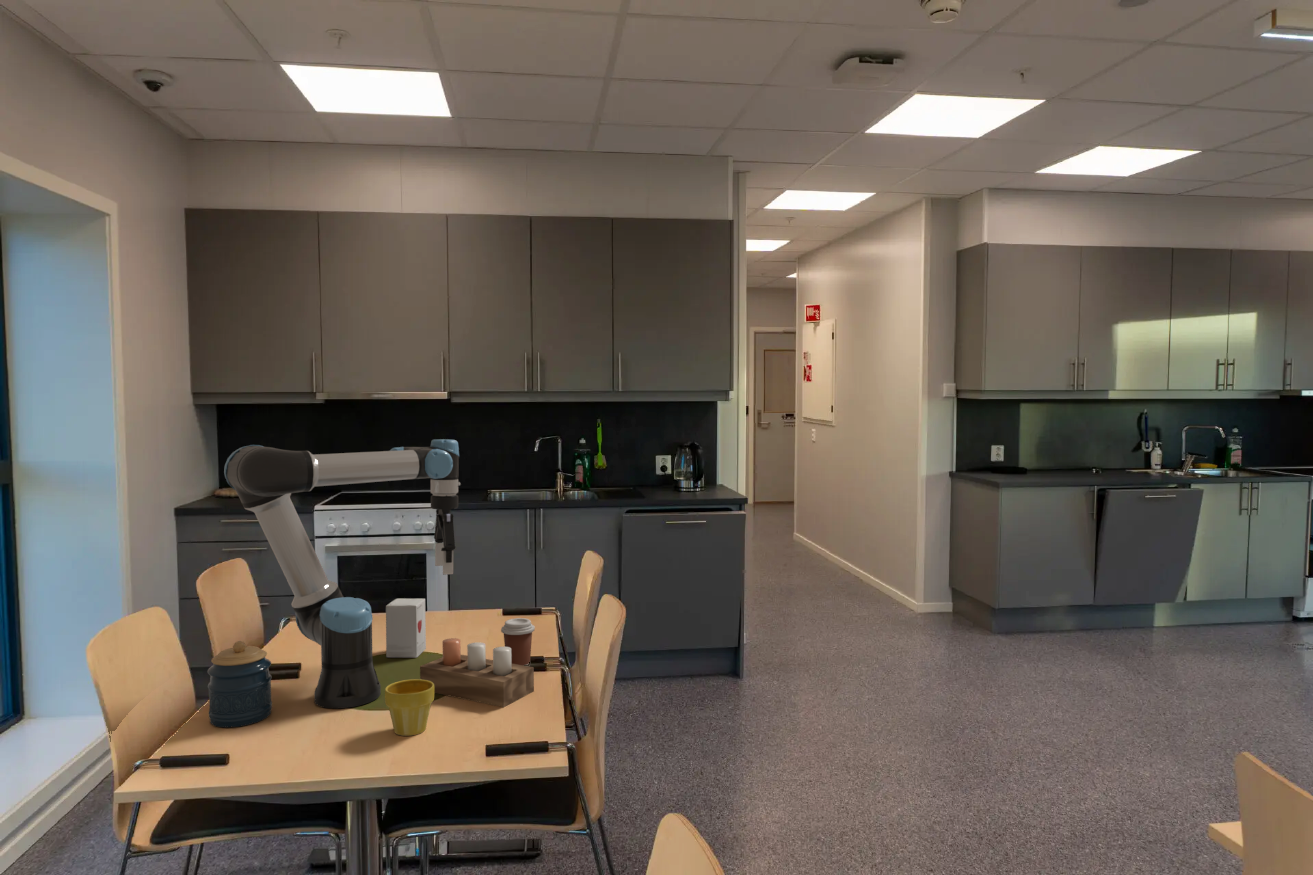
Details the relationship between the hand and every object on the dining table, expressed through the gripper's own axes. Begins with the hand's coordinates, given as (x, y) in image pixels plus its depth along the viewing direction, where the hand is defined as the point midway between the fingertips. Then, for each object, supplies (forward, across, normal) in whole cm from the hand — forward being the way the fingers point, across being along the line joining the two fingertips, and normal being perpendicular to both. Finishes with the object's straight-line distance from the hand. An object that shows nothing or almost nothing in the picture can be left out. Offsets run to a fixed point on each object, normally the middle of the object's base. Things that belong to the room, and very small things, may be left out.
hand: (444, 569), depth 229 cm
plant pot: (+26, -49, +15) cm, 57 cm away
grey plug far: (+20, -37, -8) cm, 43 cm away
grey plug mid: (+21, -30, -3) cm, 37 cm away
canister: (+26, -26, +49) cm, 62 cm away
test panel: (+25, -30, -3) cm, 39 cm away
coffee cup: (+25, -15, -18) cm, 34 cm away
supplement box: (+25, +9, +9) cm, 28 cm away
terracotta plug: (+21, -24, +2) cm, 32 cm away
